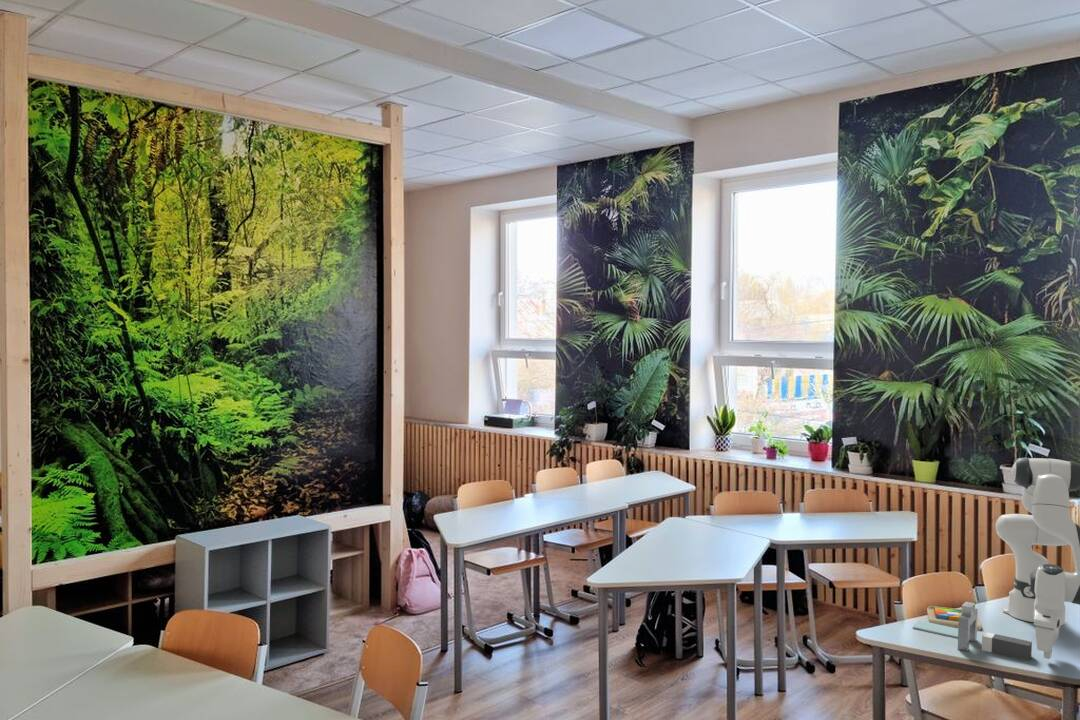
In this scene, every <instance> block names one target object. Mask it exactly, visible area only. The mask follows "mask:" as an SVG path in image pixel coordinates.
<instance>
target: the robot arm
mask: <svg viewBox="0 0 1080 720" xmlns="http://www.w3.org/2000/svg"><path fill="white" fill-rule="evenodd" d="M1011 477H1012V479H1013V482H1014V483H1015V484H1016V485H1017V486H1019V487H1023V489H1022V493H1021V504H1022V506H1023V507H1024V509H1026V511H1027V512H1029V513H1030V514H1022V513H1007V514H1001V515H1000V516H999V517H998V518H997V520H996V522H995V532H996V534H997V536H998V537H999V538H1000V539H1001V540H1002V541H1003V542H1005V543H1006V545H1008V547H1010V549H1011V551H1012V553H1013V555H1014V560H1015V577H1014V580H1013V589H1012V590H1010V591H1009V592H1008V595H1009V596H1008V603H1007V604H1008V605H1007V607H1005V608H1003V609H1002V612H1003V613H1005V614H1007V615H1009V616H1011V617H1013V618H1014V619H1018V620H1022V621H1025V622H1031V623H1033V626H1035V639H1036V641H1035V642H1036V648H1037V650H1038V651H1040V652H1043V658H1044V659H1047V660H1050V659H1051V657H1052V654H1053V653H1052V651H1053V648H1054V646H1055V644H1056V642H1057V639H1058V638H1059V635H1060V629H1061V626H1062V625H1065V624H1066V605H1065V602H1068V603H1072V604H1076V605H1078V606H1080V525H1078V524H1077V523H1075V521H1074V520H1073V519H1072V516H1071V510H1070V506H1071V505H1070V492H1073V491H1075V492H1076V491H1078V490H1080V463H1079V462H1076V461H1072V460H1063V459H1058V458H1057V459H1056V458H1050V457H1049V458H1044V457H1043V458H1040V457H1038V458H1037V457H1032V458H1031V457H1030V458H1029V457H1018V458H1017V459H1016V460H1015V461H1014V463H1013V465H1012V467H1011ZM1033 545H1039V546H1048V547H1060V546H1068V545H1069V548H1070V549H1071V551H1072V558H1073V562H1074V568H1075V571H1074V572H1068V571H1065V570H1064V568H1062V567H1060V566H1059V565H1056V564H1050V561H1049V560H1048V559H1047V558H1046V556H1044V555H1042V554H1040V553H1038V552H1036V551H1035V550H1033V548H1032V547H1033Z"/></svg>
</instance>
